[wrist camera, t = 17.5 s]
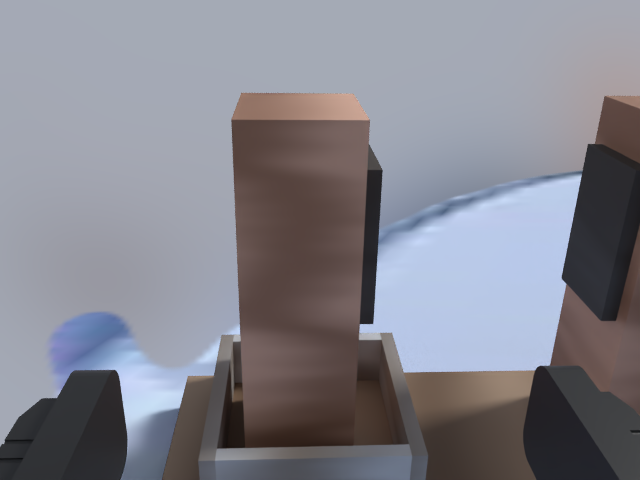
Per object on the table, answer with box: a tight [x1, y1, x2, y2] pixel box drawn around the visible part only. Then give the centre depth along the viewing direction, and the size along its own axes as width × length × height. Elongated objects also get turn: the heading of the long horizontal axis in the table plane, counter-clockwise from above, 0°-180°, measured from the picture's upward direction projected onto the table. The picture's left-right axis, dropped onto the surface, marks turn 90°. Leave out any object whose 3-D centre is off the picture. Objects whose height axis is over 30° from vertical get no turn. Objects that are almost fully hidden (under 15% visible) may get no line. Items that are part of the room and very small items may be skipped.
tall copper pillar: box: [232, 93, 382, 448], centre depth 20 cm, size 4×4×12 cm
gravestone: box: [162, 96, 640, 480], centre depth 20 cm, size 21×7×14 cm, turn 93°
